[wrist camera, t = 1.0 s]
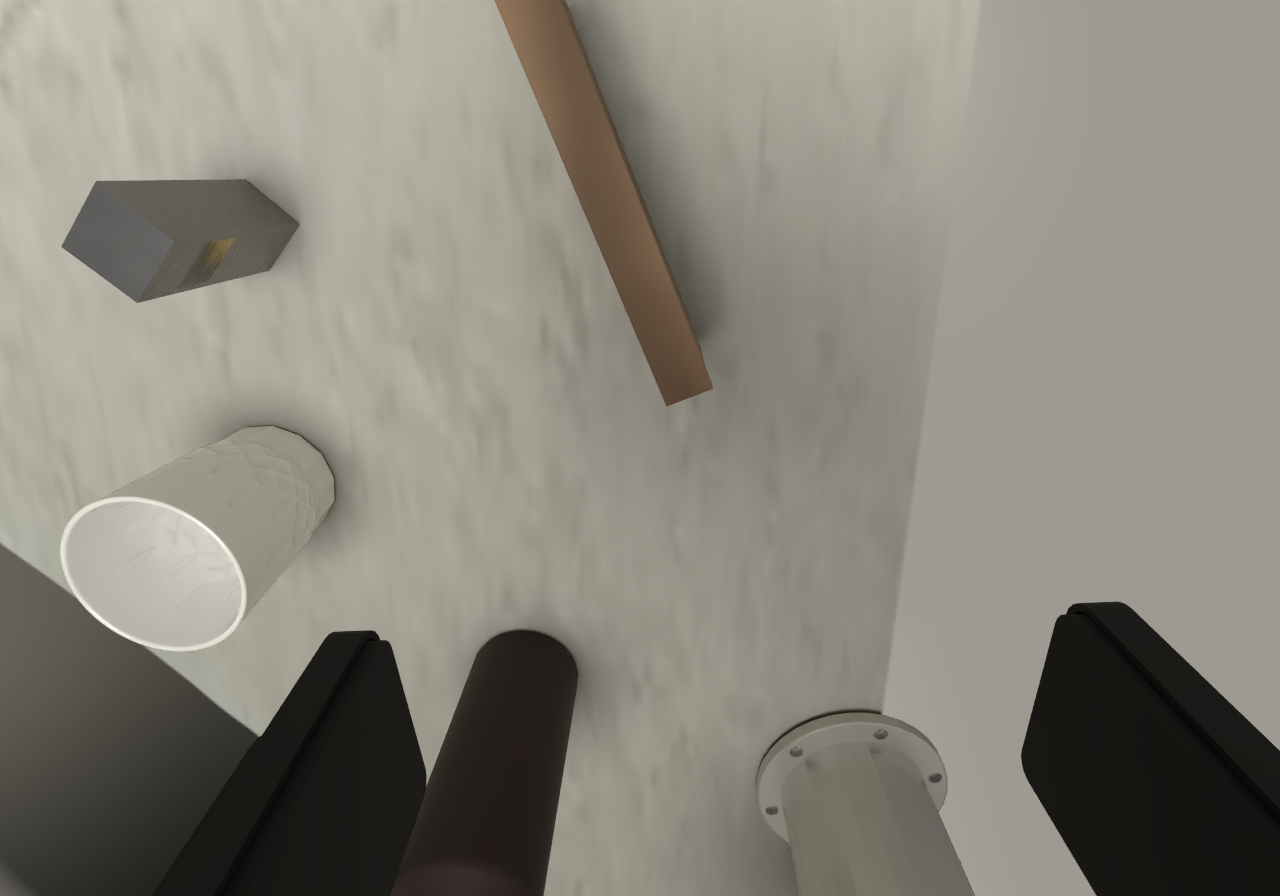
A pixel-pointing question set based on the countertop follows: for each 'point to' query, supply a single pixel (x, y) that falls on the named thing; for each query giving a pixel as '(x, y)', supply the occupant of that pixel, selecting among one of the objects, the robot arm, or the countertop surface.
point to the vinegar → (496, 776)
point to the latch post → (177, 234)
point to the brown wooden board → (607, 190)
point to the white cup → (197, 538)
